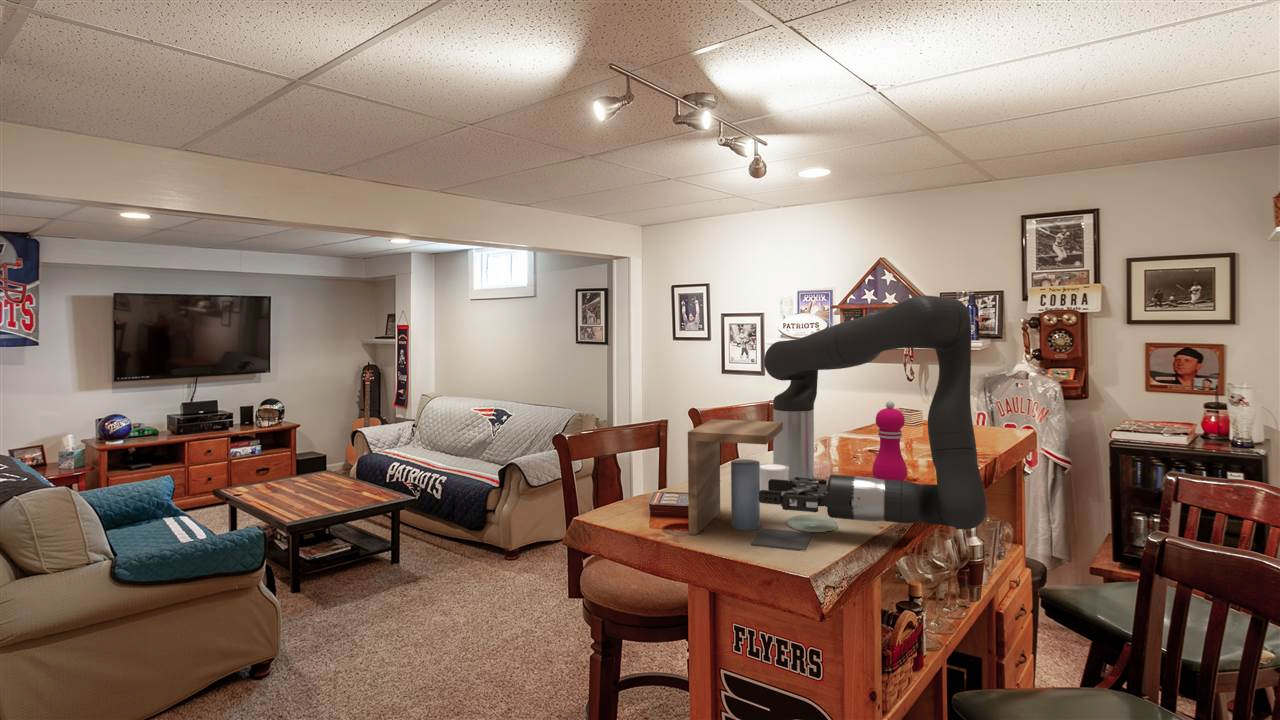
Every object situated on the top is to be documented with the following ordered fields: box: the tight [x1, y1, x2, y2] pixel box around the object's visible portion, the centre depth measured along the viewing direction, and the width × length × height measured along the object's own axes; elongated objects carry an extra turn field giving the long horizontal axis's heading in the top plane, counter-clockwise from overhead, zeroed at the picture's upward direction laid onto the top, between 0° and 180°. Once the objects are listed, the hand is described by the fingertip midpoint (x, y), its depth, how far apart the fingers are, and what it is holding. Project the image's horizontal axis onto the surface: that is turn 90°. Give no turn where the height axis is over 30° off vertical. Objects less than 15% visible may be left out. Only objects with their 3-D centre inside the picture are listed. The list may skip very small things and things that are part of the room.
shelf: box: [687, 418, 783, 536], centre depth 124 cm, size 14×16×18 cm
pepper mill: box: [871, 400, 908, 481], centre depth 146 cm, size 7×7×20 cm
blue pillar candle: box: [730, 458, 761, 532], centre depth 123 cm, size 5×5×12 cm
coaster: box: [787, 514, 839, 533], centre depth 124 cm, size 9×9×1 cm
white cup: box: [760, 463, 789, 491], centre depth 142 cm, size 7×7×7 cm
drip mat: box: [750, 527, 813, 551], centre depth 116 cm, size 9×9×1 cm
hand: (764, 490), depth 122 cm, fingers open, 8 cm apart
